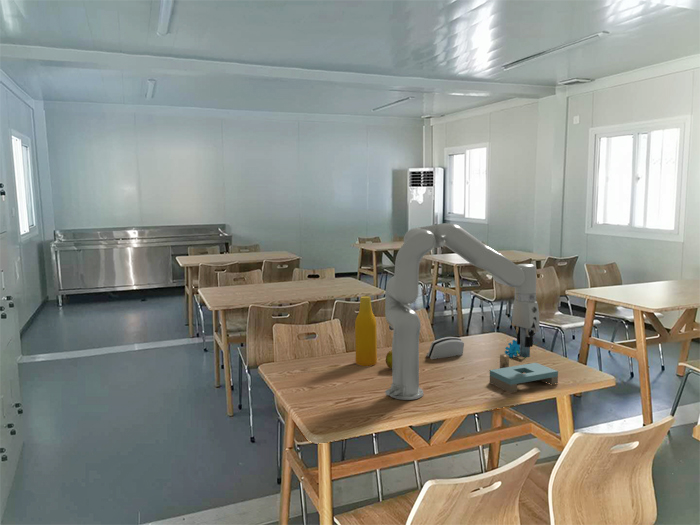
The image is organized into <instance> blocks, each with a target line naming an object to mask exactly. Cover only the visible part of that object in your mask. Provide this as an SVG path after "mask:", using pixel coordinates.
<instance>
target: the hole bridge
mask: <svg viewBox="0 0 700 525" xmlns="http://www.w3.org/2000/svg"><path fill="white" fill-rule="evenodd" d="M540 380H542V381H541V382H543V381H544V382H543V383H545V382H547V383H550V384H555V383H559V382H558V381H559V370H556V369H554V368H551V367H548V366H546V365H543V364H542V363H541V364H540V363H538V362H532V363H525V364H519V365H513V366H509V367H506V368H500V367H499V368H495V369H490V370H489V384H491V385H493V386H495V387H498V388H500V389H501V390H503V391H506V392H508V393H509V394H510V393H511V394H513V393H517V392H518V384H523V383H528V382H533V381H540ZM547 383H546V384H547ZM550 384H549V385H550Z"/></svg>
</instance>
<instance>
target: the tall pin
mask: <svg viewBox="0 0 700 525" xmlns="http://www.w3.org/2000/svg"><path fill="white" fill-rule="evenodd" d="M530 331H531V330H529V332H530ZM525 337H527V336H526V328H523V327H520V355H519V357H520V358H524V357H526V358H530V357H531V347H525Z"/></svg>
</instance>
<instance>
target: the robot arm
mask: <svg viewBox="0 0 700 525" xmlns="http://www.w3.org/2000/svg"><path fill="white" fill-rule="evenodd" d="M439 247H446V248H448V249H449V250H450V251H452V252H453V253H454V254H456V255H458V256H459V257H460V258H462V260H465V261H466V262H467V263H469V264H471V265H473V266H474V267H476V268H479V269H482V270H484V271H486V272H488V273H490V274H491V277H492V279H493V280H494V281H495V282H496V283H497V284H500V285H503V286H506V287H507V286H508V287H509V288H510V287H511V288H514V300H513V305H512V311H511V312H512V313H511V314H512V315H511V316H512V317H511V320H512V321H511V326H512V327H513V328H514V330H515V334H516V341H517V344H518V345H520V327H523V328H526V336H527V337H525V347H530V348H531V347H533V346H534V336H535V334H537V333H539V332H540V309H539V305H538V303H539V302H538V301H537V299H538V297H537V267H536V265H535V264H532V263H519V264H517V263H514V262H513V261H512V260H511V259H508V258H507V257H506V256H504V255H502V254H501V253H499V252H497V251H496V250H494V249H493V248H491V247H490V246H488V245H486V244H484V242H483V241H482V242H481V240H480V239H478V238H476V237H475V236H474V235H472V234H471V233H469V232H468V231H467V230H466V229H464V228H462V227H461V226H459V225H458V224H456V223H455V224H454V223H448V222H447V223H446V222H445V223H443V222H442V223H438V224H432V225H426V226H420V227H419V226H418V227H414V228H411V229H409V230H407V232H406V233H405V234H404V236H403V244H402V245H401V246H400V248H399V249H398V252H397V254H396V256H395V263H394V264H395V265H394V275H393V276H392V277H390V278H389V279H388V281H387V284H386V287H385V299H384V300H385V304H384V306H385V309H384V310H385V311H384V312H385V313H384V314H385V315H384V316H385V320H386V322H387V324H388V325H389V327H390V328H392V329H393V334H392V339H391V340H392V342H391V350H392V369H391V372H392V377H391V378H392V379H391V380H392V383H391V384H390V388H388V389H385V391H384V393H385V396H390V398H393V399H395V400H401V401H403V400H404V401H410V400H411V401H412V400H417V399H420V398H422V397H424V396H423V395H424V390H423V389H422V388H421V387H420V381H419V380H420V354H419V353H420V352H419V351H420V350H419V349H420V347H419V346H420V334H421V325H422V324H421V319H420V316H419V314H418V313H417V312H416V311H415V310H413V309H412V308H411V304H413V303H414V302H416V301H417V299H418V296H419V281H420V280H419V276H420V275H419V274H420V264H421V261H422V259H423V257H424V256H425V255H426V254H428V253H430V252H431V251H432V250H433V249H435V248H439ZM529 330H530V332H529Z"/></svg>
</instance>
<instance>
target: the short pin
mask: <svg viewBox="0 0 700 525" xmlns="http://www.w3.org/2000/svg"><path fill="white" fill-rule="evenodd" d="M506 367H510V356H509V355H506V354H505V353H503V354H500V355H499V369H500V368H506Z"/></svg>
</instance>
